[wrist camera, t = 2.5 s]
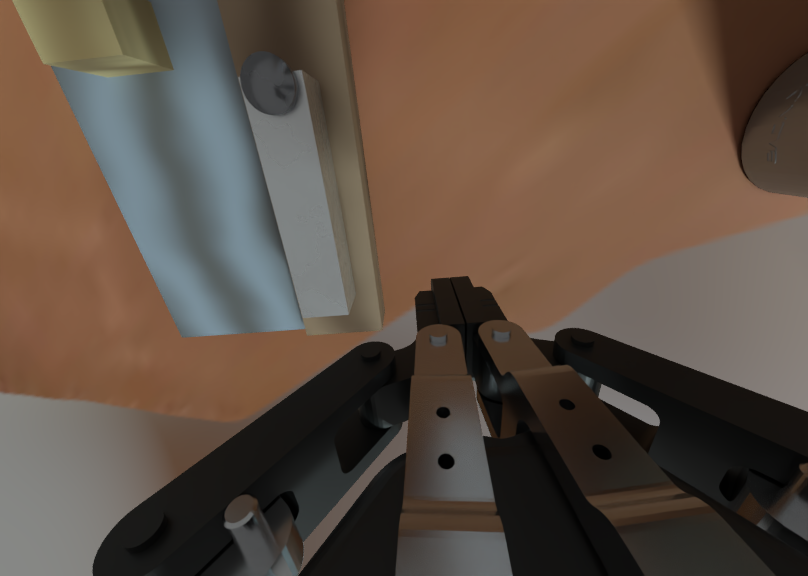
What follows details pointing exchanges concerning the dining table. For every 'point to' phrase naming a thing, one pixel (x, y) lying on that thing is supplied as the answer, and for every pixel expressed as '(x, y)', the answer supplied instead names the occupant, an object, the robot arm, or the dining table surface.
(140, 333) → the dining table surface
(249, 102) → the lock bar
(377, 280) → the latched flap box
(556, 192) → the dining table surface
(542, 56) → the dining table surface
